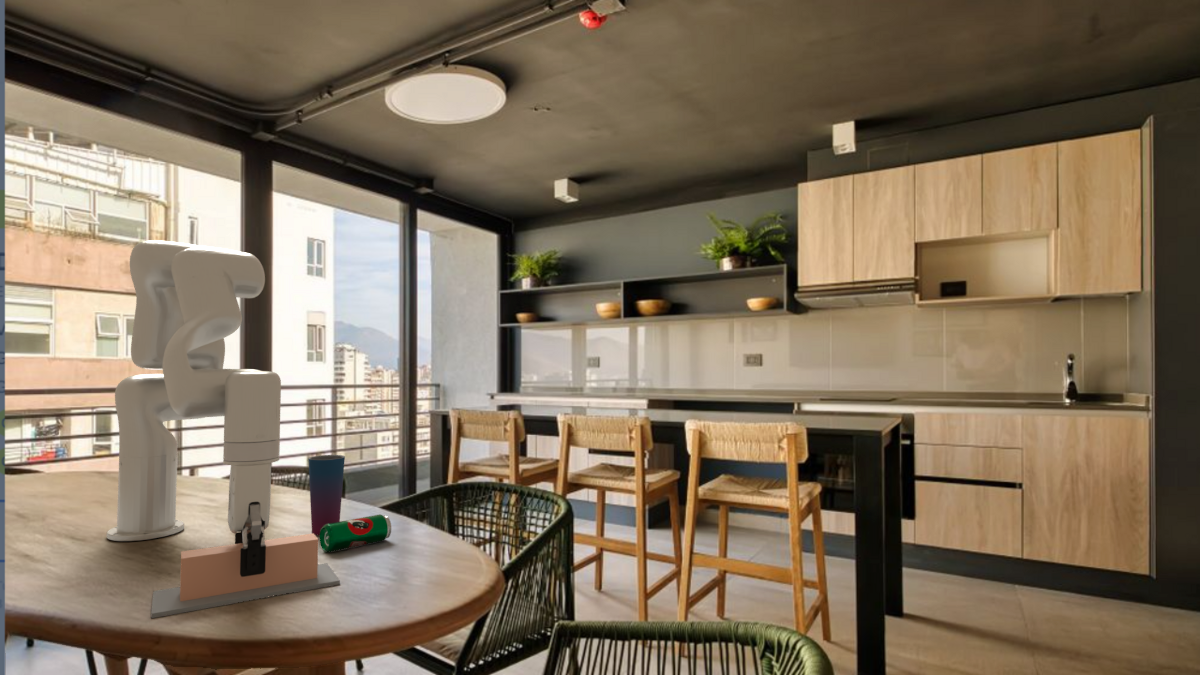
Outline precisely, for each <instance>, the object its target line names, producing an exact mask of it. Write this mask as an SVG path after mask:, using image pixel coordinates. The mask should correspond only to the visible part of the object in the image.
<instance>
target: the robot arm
mask: <svg viewBox="0 0 1200 675" xmlns="http://www.w3.org/2000/svg"><path fill="white" fill-rule="evenodd" d="M129 273H130V277H131V280H132V283H133V284H132V285H133V287H134V292H135V297H136V301H135V302H136V303H135V312H134V319H133V325H132V326H133V327H132V335H131V343H130V344H131V345H130V356H131V361H132V363H133V364H134V365H135V366H136V367H138V368H141V369H145V370H152V371H153V370H155V371H156V370H157V371H158V370H159V371H162V373H143V374H142V373H141V374H135V375H131V376H128V377H125V378H124V379H122V380H120V381H119V383H118V384H117V385H116V388H115V392H114V403H115V409H116V415H117V422H118V437H119V442H118V443H119V444H118V446H119V447H118V449H119V450H118V483H117V484H118V486H117V487H118V488H117V512H116V513H117V514H116V515H117V516H116V517H117V518H116V519H117V521H116V526H115V527H112V528H110V529H109V530H108V531H107V532H106V538H107V539H108V540H110V541H114V542H135V541H145V540H152V539H157V538H158V539H159V538H164V537H168V536H171V535H175V534H178V533H179V532H181V531H183V530H184V529H185V522H184V521H183V520H180V519H176V516H177V515H176V511H177V479H178V478H177V476H178V444H177V439H176V437H175V435H174V434H173V433H172V432H171V431H170V430H169V429H168V428H167V427H166V426H165V424H164V423H166V422H171V421H182V420H184V421H185V420H196V419H197V420H198V419H204V418H214V417H215V418H217V417H223V418H224V420H223V423H224V424H223V456H222V458H223V459H222V461H223V462H222V463H223V464H224V465H227V466H230V470H229V471H230V472H229V480H228V481H229V482H228V483H229V486H228V509H227V524H228V527H229V530H230V532H231V533H233V534H234V544H240V543H243V548H241V553H240V575H241V577H246V576H252V575H258V574H263V573H264V572H265V562H266V545H265V540H266V539H265V530H267V529H268V528H269V525H270V514H271V513H270V512H271V492H272V491H271V490H272V487H271V486H272V484H271V483H272V463H276V462H279V461H280V450H281V449H280V448H281V447H280V443H281V439H280V438H281V437H280V436H281V397H282V382H281V377H280V376H279V374H278V373H277V372H273V371H270V370H269V371H268V370H260V369H254V368H224V364H225V363H224V361H225V355H226V344H225V339H224V338H227V337H229V336H231V335H232V334H233V333H235V332H237V330H238V329H239V328H240V327H241V324H242V321H243V316H242V312H241V309H240V305H239V302H238V299H239V298H242V299H255V298H256V297H258V296H259V295H260V294H261V293H262V291H263V290H264V288H265V283H266V277H265V276H266V274H265V270H264V266H263V265H262V263H261V261H260V259H259V258H257V257H256V256H255V255H254V254H252V253H249V252H244V251H240V250H239V251H238V250H234V249H229V248H223V247H215V246H208V245H197V244H192V243H186V242H177V241H170V240H169V241H168V240H154V239H153V240H152V239H151V240H144V241H140V242H138V243H137V244H135V245H134V247H132V250H131V253H130V257H129ZM237 298H238V299H237Z"/></svg>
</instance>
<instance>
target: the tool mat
mask: <svg viewBox="0 0 1200 675" xmlns="http://www.w3.org/2000/svg"><path fill="white" fill-rule="evenodd" d="M336 585H337V586H338V585H341V580H340V579H339V577H338V576H337V574H336V573H335V572H334V570H333V568H331V566H330V565H329V564H328V563H319V564H318V573H317V578H314V579H308V580H302V581H296V582H290V583H285V584H279V585H273V586H267V587H261V588H256V589H250V590H244V591H238V592H233V593H227V594H221V595H215V596H209V597H204V598H198V599H192V600H186V601H180V586H177V587H171V588H165V589H159V590H153V591H152V599H151V600H152V601H151V613H150V618H151V619H155V618H161V617H166V616H171V615H177V614H183V613H188V612H193V611H199V610H200V611H201V610H205V609H210V608H215V607H222V606H227V605H233V604H238V602H239V603H242V602H243V601H244V602H248V601H249V600H250V601H254V600H253V599H255V600H260V599H259V598H261V599H264V598H263V597H266V598H269V597H268V596H272V597H274V596H273V595H277V596H281V595H280V594H283V595H287V594H286V593H289V594H293V593H292V592H294V593H297V592H298V593H300V592H304V591H310V590H315V589H321V588H327V587H333V586H336ZM244 602H243V603H244Z"/></svg>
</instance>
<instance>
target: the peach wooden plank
mask: <svg viewBox="0 0 1200 675" xmlns="http://www.w3.org/2000/svg"><path fill="white" fill-rule="evenodd" d="M265 545H266V562H265V572H264V573H263V574H258V575H252V576H246V577H241V575H240V553H241V548H243V543H240V544H235V543H234V544H233V543H232V544H225V545H218V546H211V547H205V548H197V549H189V550H181V551H180V576H179V577H180V580H179V581H180V582H179V583H180V584H179V587H180V601H186V600H192V599H198V598H204V597H209V596H215V595H221V594H227V593H233V592H238V591H244V590H250V589H256V588H261V587H267V586H273V585H279V584H285V583H290V582H296V581H302V580H308V579H314V578H317V573H318V563H319V562H318V561H319V539H318V537H317V535H314V533H313V534H312V533H308V534H307V533H305V534H301V535H300V534H298V535H293V536H285V537H279V538H278V537H277V538H270V539H265Z"/></svg>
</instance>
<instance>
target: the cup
mask: <svg viewBox="0 0 1200 675" xmlns="http://www.w3.org/2000/svg"><path fill="white" fill-rule="evenodd" d="M307 459H308V460H307V461H308V477H309V478H308V479H309V502H310V516H311V517H310V518H311V519H310V520H311V522H310V523H311V534H313V533H314V535H315V536H320V531H321V528H322V527H323V526H324V525H325V524H329V523H335V522H340V521H341V520H340V519H341V510H342V508H341V507H342V498H343V484H344V472H345V461H346V456H345V455H341V454H323V455H321V454H320V455H313V456H310V457H308V458H307Z"/></svg>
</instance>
